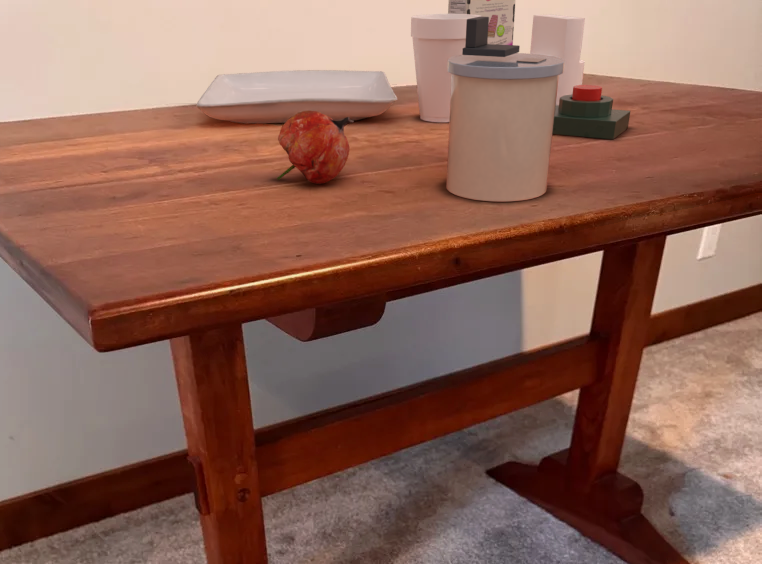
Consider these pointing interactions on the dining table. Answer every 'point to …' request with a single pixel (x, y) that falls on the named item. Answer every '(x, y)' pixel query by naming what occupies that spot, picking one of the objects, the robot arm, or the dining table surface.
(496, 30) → the candy bar box
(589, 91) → the button
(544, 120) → the travel mug
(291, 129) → the pomegranate
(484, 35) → the slider
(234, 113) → the square plate
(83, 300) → the dining table surface
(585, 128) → the box
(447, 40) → the foam cup
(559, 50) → the white tapered box
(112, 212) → the dining table surface
